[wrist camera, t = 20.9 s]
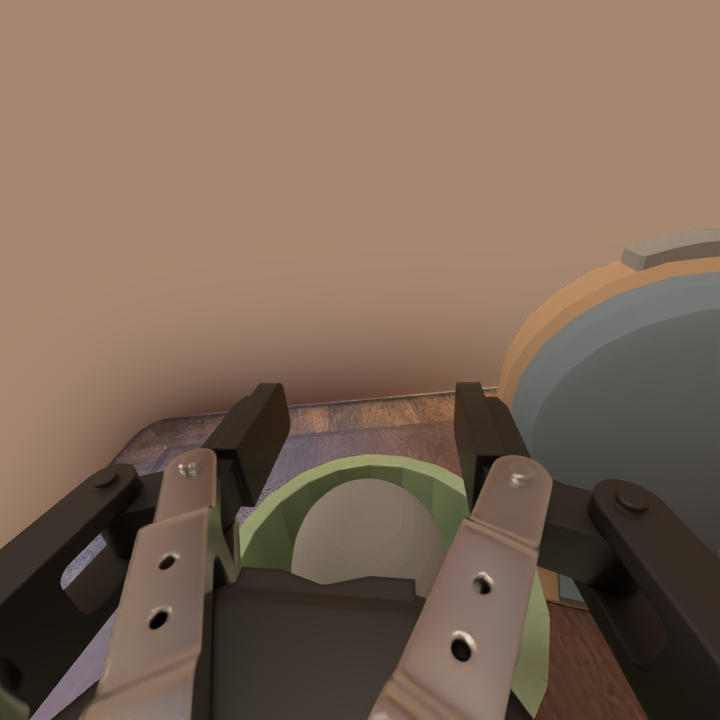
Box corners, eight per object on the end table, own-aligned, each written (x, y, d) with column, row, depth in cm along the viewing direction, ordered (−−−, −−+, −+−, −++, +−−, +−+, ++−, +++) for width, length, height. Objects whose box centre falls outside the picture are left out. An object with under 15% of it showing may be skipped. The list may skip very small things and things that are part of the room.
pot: (234, 946, 10) (137, 898, 7) (269, 572, 21) (237, 474, 17) (585, 845, 12) (660, 758, 8) (453, 537, 22) (459, 438, 18)
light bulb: (474, 698, 14) (486, 536, 10) (352, 786, 12) (301, 637, 8) (406, 578, 19) (393, 431, 14) (310, 630, 17) (263, 481, 13)
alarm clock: (706, 493, 23) (855, 209, 15) (835, 669, 15) (1307, 248, 7) (483, 463, 27) (509, 226, 19) (487, 587, 19) (535, 263, 11)
